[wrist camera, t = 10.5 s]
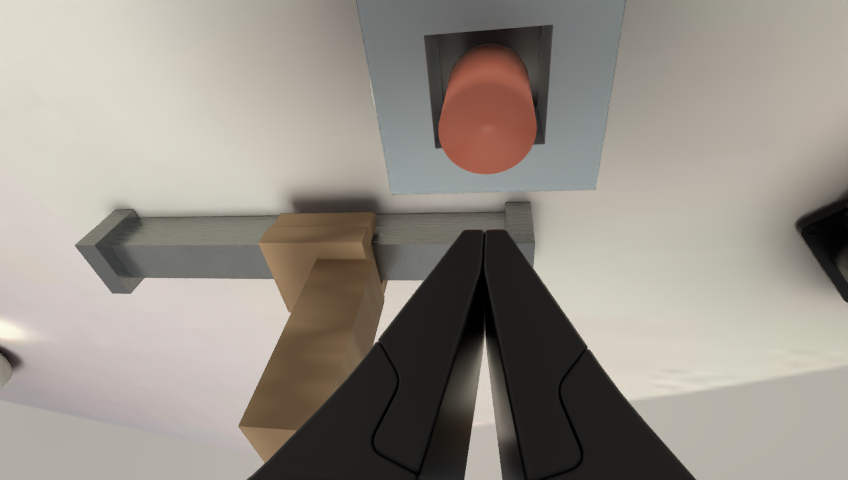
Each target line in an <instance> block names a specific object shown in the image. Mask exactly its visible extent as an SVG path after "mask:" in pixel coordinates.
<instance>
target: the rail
mask: <svg viewBox="0 0 848 480" xmlns="http://www.w3.org/2000/svg"><path fill="white" fill-rule="evenodd" d="M375 216H376V220H377V225H376V228H375V231H374V234H373V237H372V240H371V242H372V247H373V251H374V255H375V259H376V264H377V268H378V272H379V276H380V280H425V279H426V277H427V276H428V275H429V273H430V272H431V271H432V270H433V268H434V267H435V266H436V264H437V263H438V262H439V261H440V259H441V258H442V257H443V255H444V254H445V253H446V252H447V250H448V249H449V248H450V246H451V245H452V244H453V243H454V241H455V240H456V239H457V237H458V236H459V235H460V234H461V232H462V231H463V230H466V229H482V230H483V231H484V233H485V231H486V230H487V229H505V230H507V231H508V233H509V234H510V235H511V237H512V238H513V240H514V241H515V243H516V244H517V245H518V247H519V248H520V250H521V251H522V253H523V254H524V256H525V257H526V258H527V260H528V261H529V263H530V264H531V266H532V267H533V263H534V248H535V241H534V232H533V223H532V214H531V204H530V202H511V203H505V212H501V213H436V214H375ZM278 217H279V216H243V217H178V218H138V216H137V215H136V213H135V212H134V210H115V211H113V212H112V213H111V214H110V215H109V216H108V217H107V218H105V219H104V220H103V221H102V222H101V223H100V224H99V225H97V226H96V227H95V228H94V229H93V230H92V231H91V232H89V233H88V234H87V235H86V236H85V237H84V238H83V239H81V240H80V241H79V242H78V243H77V244H76V245H75V246H76V248H77V249H78V250H79V252H80V253H81V254H82V255H83V257H84V258H85V259H86V260H87V262H88V263H89V264H90V265H91V267H92V268H93V269H94V271H95V272H96V273H97V274H98V276H99V277H100V278H101V279H102V281H103V282H104V283H105V285H106V286H107V287H108V288H109V290H110V291H111V292H112V293H122V294H131V293H132V292H133V290H134V289H135V288H136V287H137V286H138V285H139V284H140V282H141V281H142V280H143V279H144V278H231V279H274V277H273V275H272V273H271V271H270V268H269V266H268V264H267V262H266V260H265V257H264V255H263V253H262V251H261V248H260V246H259V244H258V242H259V241H260V239H261V238H262V236H263V235H264V233H265V232H266V230H267V229H268V227H272V226H273V225H274V223H275V221H276V220H277V218H278Z"/></svg>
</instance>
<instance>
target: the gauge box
mask: <svg viewBox="0 0 848 480" xmlns="http://www.w3.org/2000/svg"><path fill="white" fill-rule="evenodd" d="M356 2H357V8H358V13H359V19H360V24H361V30H362V35H363V41H364V46H365V52H366V57H367V63H368V68H369V82H370V91H371V97H372V101H373V105H374V108H375V111H376V113H377V117H378V123H379V128H380V134H381V139H382V144H383V150H384V155H385V161H386V166H387V172H388V177H389V183H390V188H391V194H434V193H477V192H520V191H564V190H595V189H596V183H597V177H598V171H599V164H600V158H601V152H602V146H603V139H604V133H605V127H606V121H607V115H608V108H609V102H610V96H611V90H612V83H613V77H614V71H615V65H616V58H617V52H618V46H619V40H620V33H621V27H622V21H623V15H624V8H625V2H626V0H356ZM531 26H542V36H541V54H540V72H539V90H538V106H534V111H535V117H536V123H537V131H536V137H535V141H534V144H533V146H532V148H531V150H530V151H529V153H528V154H527V155H526V157H525V158H524V159H523V160H522V161H521V162H520V163H518V164H517V165H516V166H514V167H512V168H510V169H508V170H506V171H503V172H500V173H495V174H476V173H472V172H469V171H466V170H464V169H462V168H460V167H459V166H457V165H456V164H454V163H453V162H452V161H451V160H450V159H449V158H448V156H447V155H446V154H445V152H444V150H443V148H442V146H441V143H440V140H439V132H438V128H439V121H440V117H441V112H442V108H443V98H442V86H441V74H440V62H439V50H438V38H437V34H447V33H459V32H471V31H483V30H495V29H507V28H519V27H531Z"/></svg>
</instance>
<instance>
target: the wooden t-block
mask: <svg viewBox="0 0 848 480" xmlns="http://www.w3.org/2000/svg"><path fill="white" fill-rule="evenodd" d="M376 225H377V220H376V216H375V212H355V213H294V214H280V215H279V217H278V218H277V220H276V221H275V223H274V225H273V226H272V227H268V229H267V230H266V232H265V233H264V235H263V236H262V238H261V239H260V241H259V242H258V244H259V246H260V248H261V251H262V253H263V255H264V257H265V260H266V262H267V264H268V266H269V268H270V271H271V273H272V275H273V277H274V280H275V282H276V284H277V286H278V289H279V291H280V293H281V295H282V298H283V300H284V302H285V304H286V307H287V309H288V311H289V312H292V313H291V315H290V317H289V319H288V321H287V323H286V326H285V328H284V330H283V332H282V334H281V336H280V338H279V340H278V343H277V345H276V347H275V349H274V351H273V353H272V355H271V358H270V360H269V362H268V364H267V366H266V368H265V370H264V372H263V375H262V377H261V379H260V381H259V383H258V385H257V387H256V390H255V392H254V394H253V396H252V398H251V400H250V402H249V404H248V407H247V409H246V411H245V413H244V415H243V417H242V419H241V422H240V424H239V426H238V427H239V428H240V429H241V431H242V432H243V433H244V435H245V436H246V438H247V439H248V440H249V442H250V443H251V444H252V446H253V447H254V449H255V450H256V451H257V453H258V454H259V455H260V457H261V458H262V460H263V461H264V462H265V463H266V462H267V461H268V460H269V459H270V458H271V457H272V456H273V455H274V454H275V453H276V452H277V451H278V449H279V448H280V447H281V446H282V445H283V444H284V443H285V442H286V441H287V440H288V439H289V438H290V437H291V436H292V435H293V434H294V433H295V432H296V431H297V430H298V429H299V428H300V427H301V426H302V425H303V424H304V423H305V422H306V421H307V420H308V419H309V418H310V417H311V416H312V415H313V414H314V413H315V412H316V411H317V410H318V408H319V407H320V406H321V405H322V404H323V403H324V402H325V401H326V400H327V399H328V398H329V397H330V396H331V395H332V394H333V393H334V392H335V390H336V389H337V388H338V387H339V386H340V385H341V384H342V383H343V382H344V381H345V380H346V379H347V377H348V376H349V375H350V374H351V373H352V371H353V370H354V369H355V368H356V367H357V365H358V364H359V363H360V362H361V361H362V359H363V358H364V357H365V356H366V354H367V353H368V352H369V350H370V349H371V348H372V346H373V343H374V339H375V335H376V331H377V327H378V324H379V320H380V316H381V312H382V308H383V304H384V292H385V289H386V285H387V281H388V280H380V276H379V272H378V268H377V264H376V259H375V255H374V251H373V247H372V242H371V240H372V237H373V234H374V231H375V228H376Z"/></svg>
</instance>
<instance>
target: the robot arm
mask: <svg viewBox="0 0 848 480" xmlns="http://www.w3.org/2000/svg"><path fill="white" fill-rule="evenodd" d="M812 227H813V228H812ZM810 228H812V229H810ZM796 229H797V232H798V233H799V235H800V236H801V238H802V239H803V241H804V242H805V244H806V245H807V247H808V248H809V250H810V251H811V253H812V254H813V256H814V257H815V259H816V260H817V262H818V263H819V265H820V266H821V268H822V269H823V271H824V272H825V274H826V275H827V277H828V278H829V280H830V281H831V283H832V284H833V286H834V287H835V289H836V290H837V292H838V293H839V295H840V296H841V297H842V298H843V299H844V301H846V302H848V199H847V200H845V201H843V202H840V203H838V204H836V205H834V206H832V207H830V208H827V209H825V210H823V211H821V212H819V213H817V214H814V215H812V216H810V217H808V218H806V219H804V220H802V221H801V222H800V223H799V224H798V225H797V227H796ZM485 336H486V348H487V357H488V365H489V373H490V381H491V390H492V398H493V406H494V414H495V422H496V430H497V439H498V446H499V455H500V463H501V471H502V479H503V480H696V479H695V478H694V477H693V476H692V474H691V473H690V472H689V471H688V470H687V469H686V468H685V466H684V465H683V464H682V463H681V462H680V461H679V460H678V459H677V457H676V456H675V455H674V454H673V453H672V452H671V451H670V449H669V448H668V447H667V446H666V445H665V444H664V443H663V442H662V440H661V439H660V438H659V437H658V436H657V435H656V433H655V432H654V431H653V430H652V429H651V428H650V427H649V426H648V424H647V423H646V422H645V421H644V420H643V419H642V417H641V416H640V415H639V414H638V413H637V411H636V410H635V409H634V408H633V407H632V406H631V404H630V403H629V402H628V401H627V399H626V398H625V397H624V396H623V395H622V393H621V392H620V391H619V389H618V388H617V387H616V385H615V384H614V383H613V381H612V380H611V379H610V377H609V376H608V375H607V373H606V372H605V371H604V369H603V368H602V366H601V365H600V364H599V362H598V361H597V359H596V358H595V356H594V355H593V353H592V352H591V351H590V350H589V349H587V345H586V344H585V342H584V341H583V339H582V338H581V336H580V335H579V334H578V332H577V331H576V329H575V328H574V326H573V325H572V323H571V322H570V321H569V319H568V318H567V316H566V315H565V313H564V312H563V310H562V309H561V308H560V306H559V305H558V303H557V302H556V300H555V299H554V297H553V296H552V295H551V293H550V292H549V290H548V289H547V287H546V286H545V284H544V283H543V282H542V280H541V279H540V277H539V276H538V274H537V273H536V271H535V270H534V269H533V267H532V266H531V264H530V263H529V261H528V260H527V258H526V257H525V256H524V254H523V253H522V251H521V250H520V248H519V247H518V245H517V244H516V243H515V241H514V240H513V238H512V237H511V235H510V234H509V233H508V231H507V230H505V229H487V230H486V231H485V233H484V231H483V230H482V229H466V230H463V231H462V232H461V234H460V235H459V236H458V237H457V239H456V240H455V241H454V243H453V244H452V245H451V246H450V248H449V249H448V250H447V252H446V253H445V254H444V255H443V257H442V258H441V259H440V261H439V262H438V263H437V264H436V266H435V267H434V268H433V270H432V271H431V272H430V273H429V275H428V276H427V277H426V279H425V280H424V281H423V282H422V284H421V285H420V286H419V288H418V289H417V290H416V291H415V293H414V294H413V295H412V297H411V298H410V299H409V301H408V302H407V303H406V304H405V306H404V307H403V308H402V310H401V311H400V312H399V313H398V315H397V316H396V317H395V319H394V320H393V321H392V322H391V324H390V325H389V326H388V328H387V329H386V330H385V331H384V333H383V334H382V335H381V337H380V338H379V339H378V341H379V342H376V343H375V344H374V345H373V346H372V348H371V349H370V350H369V352H368V353H367V354H366V356H365V357H364V358H363V359H362V361H361V362H360V363H359V364H358V365H357V367H356V368H355V369H354V370H353V371H352V373H351V374H350V375H349V376H348V377H347V379H346V380H345V381H344V382H343V383H342V384H341V385H340V386H339V387H338V388H337V389H336V390H335V392H334V393H333V394H332V395H331V396H330V397H329V398H328V399H327V400H326V401H325V402H324V403H323V404H322V405H321V406H320V407H319V408H318V410H317V411H316V412H315V413H314V414H313V415H312V416H311V417H310V418H309V419H308V420H307V421H306V422H305V423H304V424H303V425H302V426H301V427H300V428H299V429H298V430H297V431H296V432H295V433H294V434H293V435H292V436H291V437H290V438H289V439H288V440H287V441H286V442H285V443H284V444H283V445H282V446H281V447H280V448H279V449H278V451H277V452H276V453H275V454H274V455H273V456H272V457H271V458H270V459H269V460H268V461H267V462H266V463H265V464H264V465H263V466H262V467H261V468H260V469H258V470H257V471H256V472H255V473H254V474H253V475H252V476H250V477H249V478H248V479H247V480H464V477H465V470H466V463H467V456H468V450H469V443H470V436H471V429H472V423H473V416H474V409H475V402H476V395H477V388H478V381H479V375H480V368H481V361H482V354H483V347H484V338H485Z"/></svg>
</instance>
